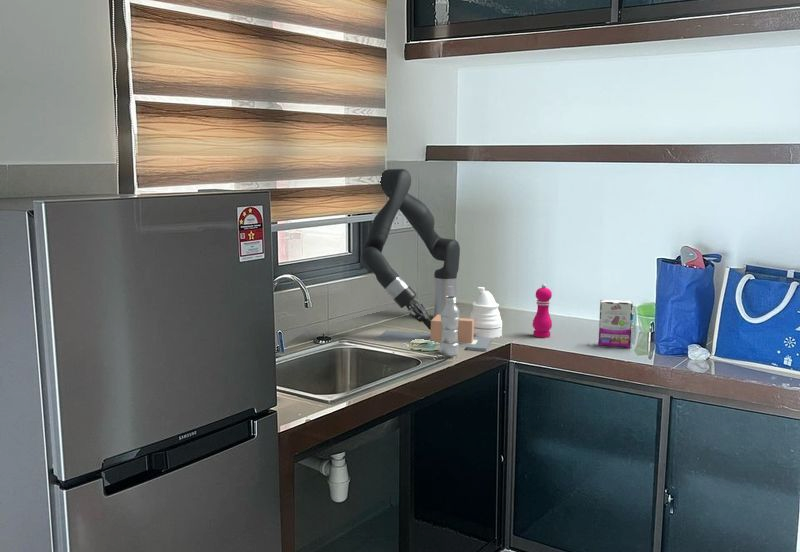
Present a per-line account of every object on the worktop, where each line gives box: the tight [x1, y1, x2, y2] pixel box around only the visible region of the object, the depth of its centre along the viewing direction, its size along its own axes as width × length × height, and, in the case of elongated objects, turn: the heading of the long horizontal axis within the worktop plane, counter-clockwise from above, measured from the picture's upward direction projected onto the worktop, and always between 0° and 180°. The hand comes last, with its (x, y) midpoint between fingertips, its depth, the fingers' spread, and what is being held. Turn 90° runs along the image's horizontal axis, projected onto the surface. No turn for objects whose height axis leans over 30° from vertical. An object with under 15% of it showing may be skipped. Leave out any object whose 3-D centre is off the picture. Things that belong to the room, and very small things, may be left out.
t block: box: [430, 314, 475, 343], centre depth 273 cm, size 12×14×8 cm
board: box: [374, 329, 493, 352], centre depth 276 cm, size 17×40×1 cm, turn 76°
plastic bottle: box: [439, 296, 461, 358], centre depth 254 cm, size 6×7×20 cm
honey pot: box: [468, 286, 503, 339], centre depth 288 cm, size 13×13×18 cm
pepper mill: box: [532, 283, 553, 339], centre depth 287 cm, size 7×7×20 cm
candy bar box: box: [598, 299, 633, 349], centre depth 274 cm, size 11×5×16 cm, turn 77°
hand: (432, 327), depth 275 cm, fingers closed
